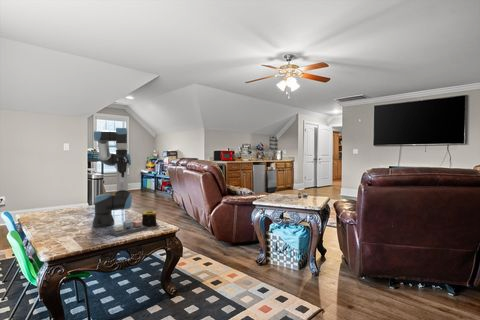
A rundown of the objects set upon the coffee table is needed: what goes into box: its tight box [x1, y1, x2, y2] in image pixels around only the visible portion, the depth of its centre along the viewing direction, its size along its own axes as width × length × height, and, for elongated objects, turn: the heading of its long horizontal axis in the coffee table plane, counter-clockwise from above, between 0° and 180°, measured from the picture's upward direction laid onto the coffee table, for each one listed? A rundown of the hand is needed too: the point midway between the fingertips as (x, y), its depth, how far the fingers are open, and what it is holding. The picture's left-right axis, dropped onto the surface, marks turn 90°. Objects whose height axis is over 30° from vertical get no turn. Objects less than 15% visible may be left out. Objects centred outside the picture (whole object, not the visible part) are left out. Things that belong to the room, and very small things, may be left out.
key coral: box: [132, 220, 142, 227], centre depth 199 cm, size 5×5×5 cm
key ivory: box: [113, 224, 124, 231], centre depth 189 cm, size 5×5×5 cm
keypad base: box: [108, 225, 148, 237], centre depth 194 cm, size 12×22×2 cm, turn 140°
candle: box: [141, 210, 157, 228], centre depth 209 cm, size 10×10×10 cm
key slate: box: [122, 220, 134, 229], centre depth 194 cm, size 5×5×5 cm
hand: (122, 181), depth 198 cm, fingers closed
